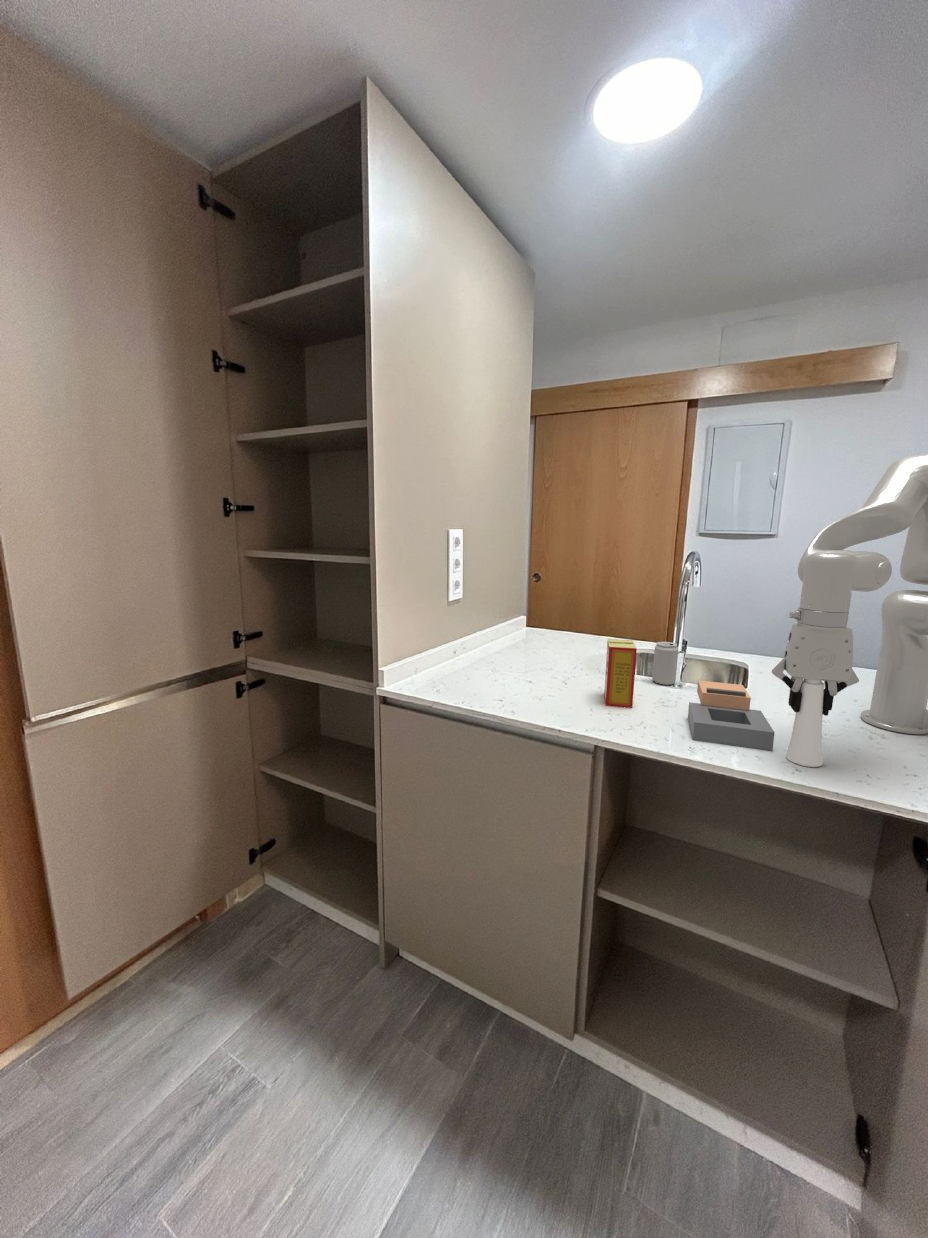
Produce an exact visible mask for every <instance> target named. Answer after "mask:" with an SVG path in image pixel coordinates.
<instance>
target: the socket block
mask: <svg viewBox="0 0 928 1238" xmlns="http://www.w3.org/2000/svg"><path fill="white" fill-rule="evenodd" d="M687 712H688V713H687V721H688V725H689V730H690V734H691V738H692V740H693V741H700V742H707V743H713V744H714V743H715V744H721V745H722V744H723V745H729V746H736V747H743V748H749V749H750V748H751V749H756V750H765V751H771V752H773V747H774V740H775V734H776V733H775V731H774V729H773V727H772V726H771V724H770V723H769V721H768V720H767V718H766V717H765V715H764V713H763V712H762V710H758V709H749V710H742V709H733V708H725V707H716V706H707V705H701V703H698V702H690V701H689V703H688V711H687Z"/></svg>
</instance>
